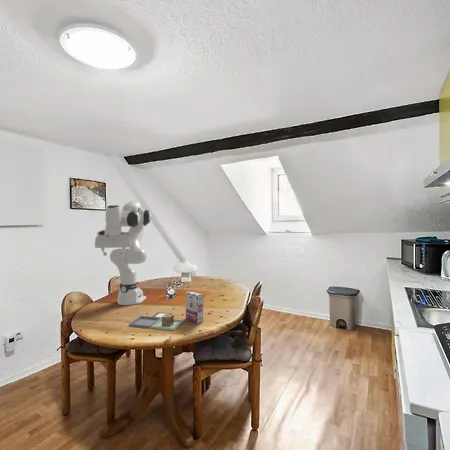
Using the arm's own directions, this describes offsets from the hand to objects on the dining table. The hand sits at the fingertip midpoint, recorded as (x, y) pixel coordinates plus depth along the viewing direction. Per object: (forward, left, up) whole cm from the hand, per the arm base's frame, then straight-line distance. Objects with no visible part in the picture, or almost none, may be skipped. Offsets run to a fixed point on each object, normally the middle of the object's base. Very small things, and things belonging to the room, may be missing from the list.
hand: (113, 255), depth 165 cm
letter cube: (+1, +36, -38) cm, 52 cm away
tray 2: (+1, +36, -39) cm, 53 cm away
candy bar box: (-10, +48, -39) cm, 62 cm away
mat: (-12, +26, -39) cm, 48 cm away
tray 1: (+1, +22, -39) cm, 44 cm away
